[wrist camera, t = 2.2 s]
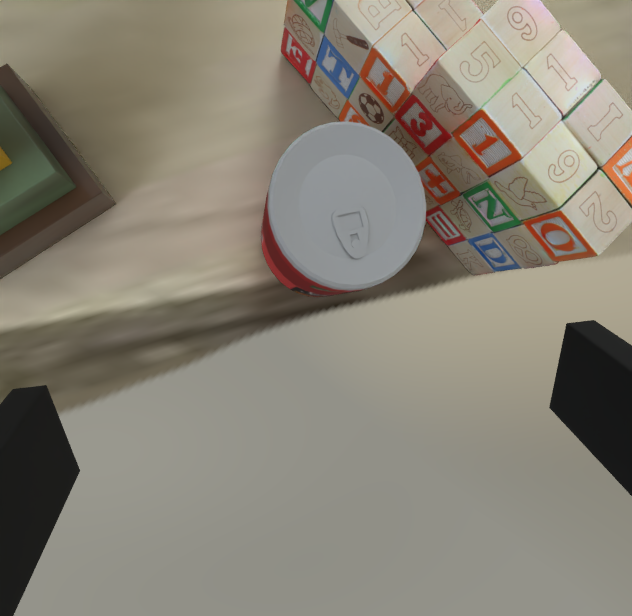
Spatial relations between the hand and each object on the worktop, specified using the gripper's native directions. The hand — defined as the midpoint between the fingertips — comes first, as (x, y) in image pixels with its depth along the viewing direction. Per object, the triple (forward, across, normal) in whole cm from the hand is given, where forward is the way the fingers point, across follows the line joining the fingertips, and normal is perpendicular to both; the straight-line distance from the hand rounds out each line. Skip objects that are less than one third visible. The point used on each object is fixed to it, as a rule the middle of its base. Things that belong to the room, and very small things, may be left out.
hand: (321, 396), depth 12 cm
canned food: (+21, +2, -3) cm, 22 cm away
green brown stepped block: (+22, -17, +3) cm, 28 cm away
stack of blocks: (+25, +10, +3) cm, 27 cm away
